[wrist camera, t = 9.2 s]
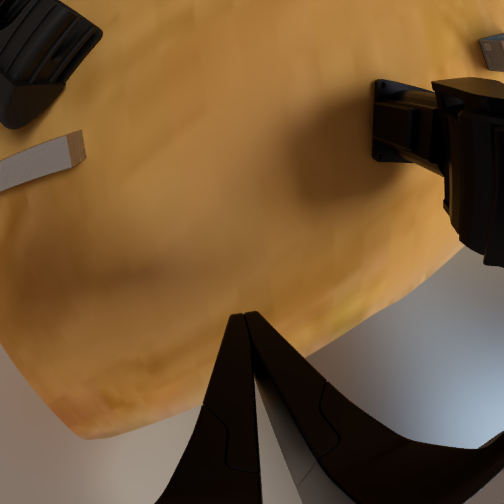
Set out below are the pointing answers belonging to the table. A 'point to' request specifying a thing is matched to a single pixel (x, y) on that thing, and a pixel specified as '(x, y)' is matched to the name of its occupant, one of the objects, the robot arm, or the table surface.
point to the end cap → (38, 55)
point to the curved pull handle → (42, 160)
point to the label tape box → (494, 52)
